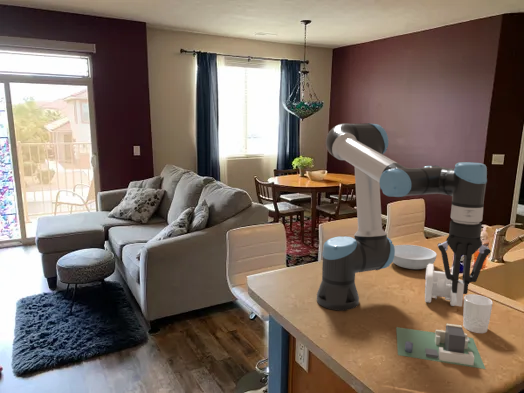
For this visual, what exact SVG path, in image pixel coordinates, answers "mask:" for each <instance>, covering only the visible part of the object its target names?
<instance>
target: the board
mask: <svg viewBox="0 0 524 393" xmlns="http://www.w3.org/2000/svg"><path fill="white" fill-rule="evenodd" d="M395 329H396V330H395V332H396V347H397V356H400V357H408V358H414V359H420V360H426V361H433V362H439V363H443V364H452V365H456V366H457V365H458V366H462V367H463V366H464V367H469V368H477V369H483V370H486V366H485V364H484V362H483V359H482V357H481V354H480V351H479V349H478V347H477V344H476V342H475V340H474V337H469V336H467V339H468V348H467V349H464V354H468V351H469V352H473V355H474V364H473V365H466V364H460V363H454V362H448V361H441V360H439V356H438V352H439V347H442V348H443V350H444V351H445V348H444V343H440V344H439V345H436V344H435V331H434V332H432V331H426V330H421V329H420V330H419V329H411V328H407V327H398V326H396V328H395Z"/></svg>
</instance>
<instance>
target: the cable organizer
mask: <svg viewBox="0 0 524 393" xmlns="http://www.w3.org/2000/svg"><path fill="white" fill-rule="evenodd" d="M450 273H451V274H452V273H453V266H452V267H451V271H450ZM424 280H425V284H424V287H425V288H424V301H425V303H431V302H432V298H433V299H437V298H438V297H441V298H444V301H449V304H450V306H451V307H456V304H455V302H454V300H455V293H453V292H452V289H451V288H452V280H448V279H447V278H446V275H445V271H439V270H435V266H434V263H433V264H428V265H427V268H425V279H424Z"/></svg>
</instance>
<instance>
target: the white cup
mask: <svg viewBox="0 0 524 393" xmlns="http://www.w3.org/2000/svg"><path fill="white" fill-rule="evenodd" d="M492 309H493V301H492V299H491V298H489V297H487V296H484V295H480V294H475V293H473V294H471V293H470V294H468V293H467V294H464V295H463V310H462V311H463V315H462V318H463V320H462V323H463V324H462V327H464V329H465V330H467V331H469V332H472V333H477V334H485V333H487V332H488V329H489V324H490V321H491V320H490V319H491V315H492Z"/></svg>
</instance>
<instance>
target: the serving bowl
mask: <svg viewBox="0 0 524 393" xmlns="http://www.w3.org/2000/svg"><path fill="white" fill-rule="evenodd" d="M394 248H395V255H394V259H393V262H392V263H393V264H394V265H397V267H401V268H404V269H408V270H423V269H426V268H427V265H428V264H434V263H435V262H436V259H437V252H436V251H434V250H432V249H430V248H428V247H425V246H421V245H416V244H415V245H414V244H397V245H395V244H394Z"/></svg>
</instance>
